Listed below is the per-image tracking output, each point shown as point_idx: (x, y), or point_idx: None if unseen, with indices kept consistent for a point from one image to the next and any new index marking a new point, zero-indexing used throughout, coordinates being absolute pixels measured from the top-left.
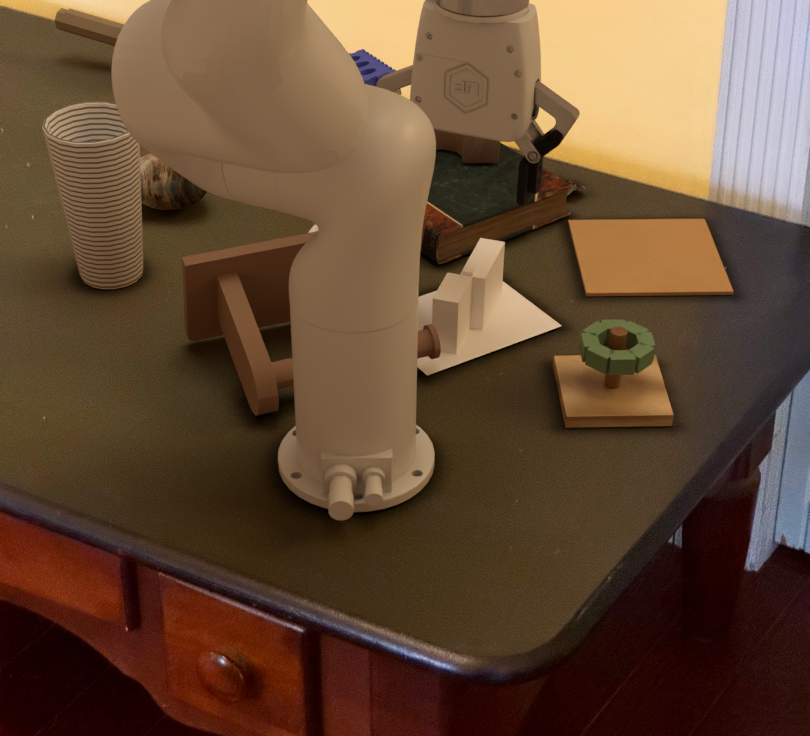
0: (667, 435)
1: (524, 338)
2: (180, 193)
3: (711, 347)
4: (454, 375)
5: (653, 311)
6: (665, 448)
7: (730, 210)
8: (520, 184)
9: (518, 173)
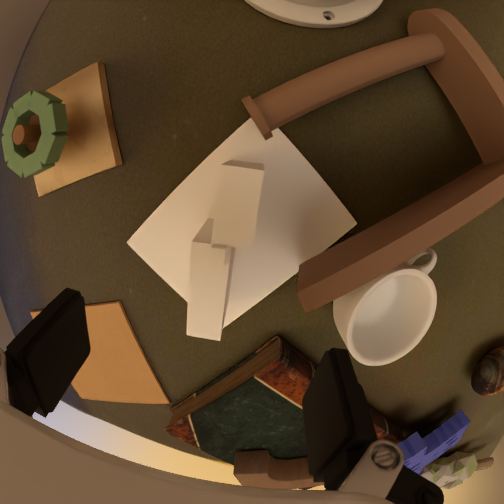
0: None
1: (158, 209)
2: (497, 357)
3: (21, 234)
4: (228, 120)
5: (65, 282)
6: (35, 75)
7: (76, 405)
8: (48, 316)
9: (41, 338)
